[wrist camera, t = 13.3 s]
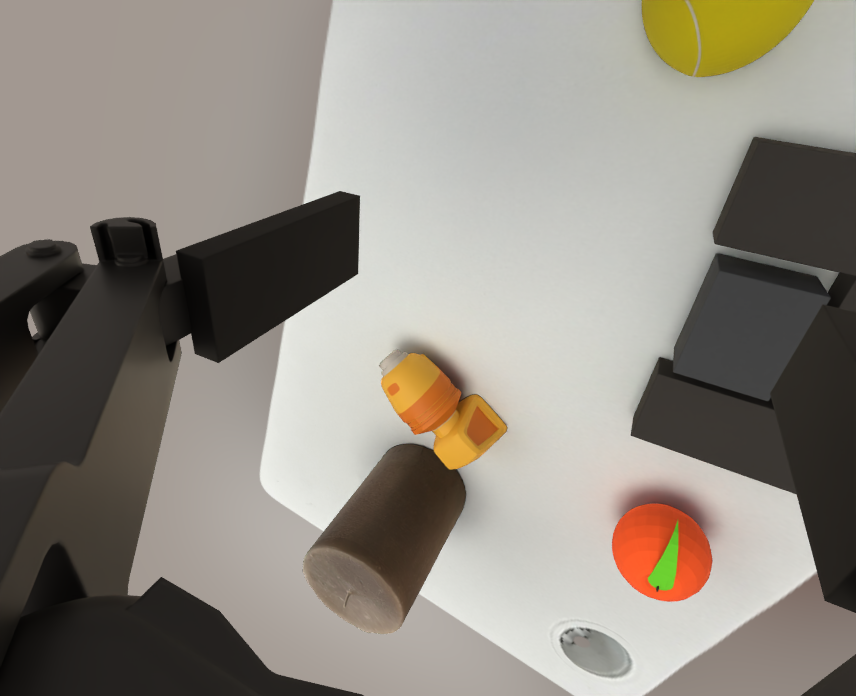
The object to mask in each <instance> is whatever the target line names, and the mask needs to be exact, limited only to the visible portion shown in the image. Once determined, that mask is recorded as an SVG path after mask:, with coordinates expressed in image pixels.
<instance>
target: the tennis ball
mask: <svg viewBox="0 0 856 696" xmlns="http://www.w3.org/2000/svg"><path fill="white" fill-rule="evenodd" d="M813 2H814V0H642V17H643V23H644V28H645V31H646V34H647V37H648V39H649V42H650V44H651V45H652V47H653V49H654V50H655V52H656V53H657V54H658V55H659V57H660V58H661V59H662V60H663V61H664V62H666V63H667V64H668V65H669V66H671V67H672V68H674V69H676V70H677V71H679V72H681V73H683V74H686V75H689V76H694V77H707V76H714V75H720V74H724V73H728V72H731V71H734V70H736V69H739V68H741V67H743V66H745V65H747V64H749V63H751V62H753V61H755V60H757V59H758V58H760V57H761V56H763V55H764V54H766V53H767V52H769V51H770V50H771V49H772V48H774V47H775V46H776V45H777V44H779V43H780V42H781V41H782V40H783V39H784V38H785V37H786V36H787V35H788V34H789V33H790V32H791V31H792V30H793V29H794V28H795V26H796V25H797V24H798V23H799V22H800V20H801V19H802V18H803V16H804V15H805V14H806V12H807V11H808V9H809V8H810V6H811V5H812V3H813Z"/></svg>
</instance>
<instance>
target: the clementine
mask: <svg viewBox="0 0 856 696" xmlns="http://www.w3.org/2000/svg"><path fill="white" fill-rule="evenodd" d="M612 551H613V556H614V560H615V562H616V565H617V567H618V569H619V571H620V573H621V574H622V576H623V577H624V578H625V579H626V580H627V581H628V583H629V584H630V585H631V586H632V587H633V588H634V589H636V590H637V591H639V592H640V593H642V594H644V595H646V596H648V597H650V598H654V599H657V600H661V601H668V602H669V601H680V600H684V599H687V598H688V597H690V596H692V595H694V594H695V593H697V592H699V591H700V590H701V588H702V587H703V586H704V584H705V583H706V581H707V580H708V578H709V575H710V571H711V566H712V555H711V549H710V545H709V541H708V540H707V538H706V536H705V534H704V532H703V531H702V529H701V528H700V526H699V525H698V524H697V523H696V522H695V521H694V520H693V519H692V518H691V517H689V516H688V515H686V514H685V513H683V512H682V511H680V510H678V509H676V508H674V507H671V506H668V505H664V504H653V503H652V504H646V505H641V506H638V507H635V508H633V509H631V510H630V511H628V512H627V513H626V514H625V515H624V516H623V517H622V518H621V519H620V520H619V522H618V524H617V525H616V528H615V530H614V533H613V539H612Z"/></svg>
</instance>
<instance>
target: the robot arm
mask: <svg viewBox="0 0 856 696" xmlns="http://www.w3.org/2000/svg"><path fill="white" fill-rule="evenodd" d="M359 214H360V196H358V195H354V194H350V193H346V192H341V191H339V192H336V193H333V194H331V195H328V196H325V197H322V198H320V199H317V200H314V201H311V202H309V203H306V204H303V205H301V206H298V207H295V208H292V209H290V210H287V211H284V212H281V213H279V214H276V215H273V216H270V217H268V218H265V219H262V220H259V221H257V222H254V223H251V224H248V225H246V226H243V227H240V228H238V229H235V230H232V231H229V232H227V233H224V234H221V235H218V236H215V237H213V238H210V239H207V240H204V241H202V242H199V243H196V244H193V245H191V246H188V247H185V248H182V249H180V250H177V251H176V255H173V256H170V257H167V258H165V259H163V258H162V253H161V248H160V243H159V238H158V233H157V228H156V223H154V222H153V221H151V220H148V219H143V218H131V217H127V218H114V219H108V220H103V221H100V222H97V223H95V224H93V225H92V226H90V229H91V233H92V236H93V240H94V243H95V247H96V251H97V254H98V258H99V263H98V265H90V264H82V262H81V259H80V256H79V253H78V249H77V246H76V245H75V244H72V243H70V242H64V241H52V240H38V241H33V242H32V243H29V244H26V245H22V246H20V247H17V248H15V249H13V250H11V251H9V252H7V253H6V254H4V255H2V256H0V696H363V695H362V694H357V693H353V692H349V691H344V690H340V689H336V688H332V687H328V686H324V685H319V684H315V683H311V682H307V681H302V680H298V679H294V678H290V677H285V676H281V675H278V674H275V673H274V672H271V670H269V669H268V668H267V667H266V666H265V665H264V664H263V662H262V661H261V660H260V659H259V657H258V656H257V655H256V654H255V653H254V651H253V650H252V649H251V648H250V647H249V645H248V644H247V643H246V642H245V641H244V640H243V638H242V637H241V636H240V635H239V634H238V633H237V631H236V630H235V629H234V628H233V626H232V625H231V624H230V623H229V622H228V620H227V619H226V618H225V617H224V616H223V614H222V613H221V612H220V611H219V610H217V609H215V608H213V607H212V606H210V605H208V604H207V603H205V602H203V601H202V600H199V599H198V598H196V597H195V596H193V595H191V594H190V593H188V592H186V591H185V590H183V589H181V588H179V587H178V586H176V585H174V584H173V583H171V582H169V581H167V580H166V579H164V578H162V577H161V578H160V579H159V580H158V581H157V582H156V583H154V584H153V585H152V586H151V587H150V588H149V589H148V590H147V591H146V592H145V593H144V594H143V595H142V596H129V595H128V583H129V577H130V573H131V568H132V563H133V559H134V555H135V551H136V547H137V542H138V538H139V534H140V530H141V525H142V521H143V517H144V512H145V508H146V504H147V499H148V495H149V491H150V486H151V482H152V478H153V474H154V470H155V465H156V461H157V457H158V452H159V448H160V444H161V440H162V435H163V431H164V427H165V422H166V418H167V414H168V410H169V405H170V401H171V397H172V392H173V388H174V384H175V379H176V375H177V371H178V367H179V362H180V358H181V353H182V352H181V347H180V342H179V339H181V338H183V337H185V336H187V335H188V334H190V333H191V335H192V340H193V346H194V351H195V354H197V355H199V356H202V357H204V358H207V359H210V360H212V361H215V362H217V363H219V362H221V361H222V360H224V359H226V358H227V357H229V356H230V355H232V354H233V353H235V352H236V351H238V350H240V349H241V348H243V347H244V346H246V345H247V344H249V343H251V342H252V341H254V340H255V339H257V338H258V337H260V336H261V335H263V334H264V333H266V332H268V331H269V330H271V329H272V328H274V327H276V326H277V325H279V324H280V323H282V322H283V321H285V320H287V319H288V318H290V317H291V316H293V315H294V314H296V313H298V312H299V311H301V310H302V309H304V308H305V307H307V306H308V305H310V304H312V303H313V302H315V301H316V300H318V299H319V298H321V297H323V296H324V295H326V294H327V293H329V292H330V291H332V290H334V289H335V288H337V287H338V286H340V285H341V284H343V283H344V282H346V281H348V280H349V279H351V278H352V277H354V276H355V275H357V274H358V256H359ZM29 311H30V313H31V315H32V318H33V321H34V323H35V326H36V328H37V331H38V333H36V334H35V335H34V336H33V337H32V336H31V334H30V331H29V328H28V322H27V318H28V314H29ZM770 395H771V399H772V403H773V406H774V410H775V414H776V418H777V422H778V425H779V429H780V433H781V437H782V440H783V444H784V448H785V452H786V456H787V459H788V463H789V467H790V471H791V474H792V478H793V482H794V486H795V490H796V493H797V497H798V501H799V505H800V509H801V512H802V516H803V520H804V524H805V527H806V531H807V535H808V539H809V543H810V546H811V550H812V554H813V558H814V561H815V565H816V569H817V573H818V577H819V580H820V584H821V587H822V592H823V595H824V599H825V601H827V602H830V603H832V604H834V605H837V606H839V607H842V608H845V609H847V610H850V611H852V612H855V613H856V312H853V311H849V310H844V309H840V308H836V307H832V306H827V305H822V306H821V308H820V310H819V311H818V313H817V315H816V316H815V318H814V320H813V322H812V323H811V325H810V327H809V328H808V330H807V332H806V333H805V335H804V337H803V338H802V340H801V342H800V344H799V345H798V347H797V349H796V350H795V352H794V354H793V355H792V357H791V359H790V360H789V362H788V364H787V366H786V367H785V369H784V371H783V372H782V374H781V376H780V377H779V379H778V381H777V382H776V384H775V386H774V388H773V389H772V391H771V393H770ZM801 696H856V655H854V656H853V657H852V658H850V659H849V660H848V661H846V662H845V663H844V664H842V665H841V666H840V667H838V668H837V669H836V670H834V671H833V672H832V673H830V674H829V675H828V676H826V677H825V678H824V679H822V680H821V681H820V682H818V683H817V684H816V685H814V686H813V687H812V688H810V689H809V690H808V691H807V692H805V693H804V694H802V695H801Z"/></svg>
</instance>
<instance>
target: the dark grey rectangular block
mask: <svg viewBox="0 0 856 696" xmlns="http://www.w3.org/2000/svg"><path fill="white" fill-rule="evenodd" d="M830 299H831V297H830V296H829V294H828V293H827V291H826V290H825V288H824V287H823V285H822V284H821V282H820V280H819V279H818V277H816V276H812V275H808V274H803V273H799V272H795V271H791V270H786V269H782V268H778V267H773V266H769V265H765V264H760V263H756V262H752V261H748V260H743V259H739V258H735V257H730V256H726V255H722V254H716V255H715V257H714V259H713V261H712V264H711V266H710V268H709V270H708V273H707V275H706V277H705V279H704V282H703V284H702V286H701V288H700V291H699V293H698V295H697V297H696V300H695V302H694V304H693V306H692V309H691V311H690V313H689V315H688V318H687V320H686V322H685V324H684V327H683V329H682V331H681V333H680V336H679V338H678V340H677V343H676V345H675V347H674V360H673V372H674V373H677V374H681V375H684V376H687V377H690V378H694V379H697V380H700V381H703V382H707V383H710V384H713V385H716V386H720V387H723V388H726V389H729V390H733V391H736V392H739V393H742V394H745V395H749V396H752V397H755V398H758V399H762V400H765V401H769V400H770V398H771V395H770V393H771V391H772V389H773V388H774V386H775V384H776V382H777V381H778V379H779V377H780V376H781V374H782V372H783V371H784V369H785V367H786V366H787V364H788V362H789V360H790V359H791V357H792V355H793V354H794V352H795V350H796V349H797V347H798V345H799V344H800V342H801V340H802V338H803V337H804V335H805V333H806V332H807V330H808V328H809V327H810V325H811V323H812V322H813V320H814V318H815V316H816V315H817V313H818V311H819V310H820V308H821V306H822V305H827V304H828V302H829V300H830Z"/></svg>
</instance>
